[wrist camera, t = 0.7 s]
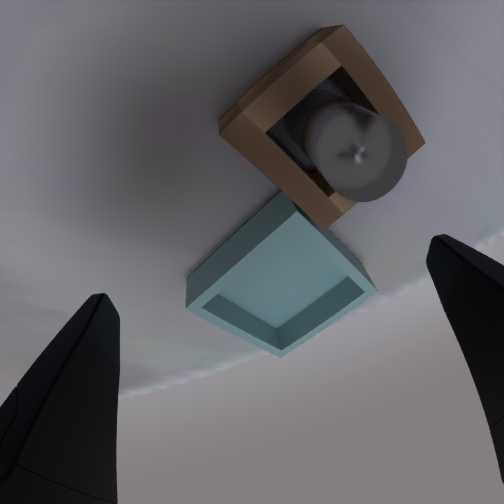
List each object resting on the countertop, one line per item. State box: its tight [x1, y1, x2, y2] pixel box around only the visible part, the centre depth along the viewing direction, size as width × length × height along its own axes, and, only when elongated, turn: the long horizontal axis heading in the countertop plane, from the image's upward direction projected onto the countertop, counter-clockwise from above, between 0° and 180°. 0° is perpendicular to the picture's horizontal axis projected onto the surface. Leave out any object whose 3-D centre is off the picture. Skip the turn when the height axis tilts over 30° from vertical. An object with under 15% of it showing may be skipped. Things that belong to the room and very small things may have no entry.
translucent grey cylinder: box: [285, 90, 408, 202], centre depth 15 cm, size 4×4×8 cm
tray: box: [186, 191, 378, 357], centre depth 24 cm, size 10×10×3 cm
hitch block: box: [218, 25, 425, 230], centre depth 17 cm, size 9×9×4 cm
